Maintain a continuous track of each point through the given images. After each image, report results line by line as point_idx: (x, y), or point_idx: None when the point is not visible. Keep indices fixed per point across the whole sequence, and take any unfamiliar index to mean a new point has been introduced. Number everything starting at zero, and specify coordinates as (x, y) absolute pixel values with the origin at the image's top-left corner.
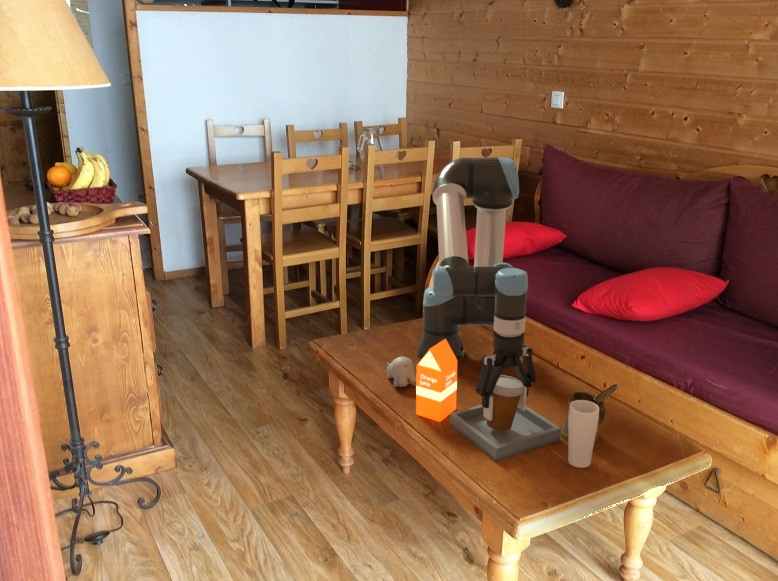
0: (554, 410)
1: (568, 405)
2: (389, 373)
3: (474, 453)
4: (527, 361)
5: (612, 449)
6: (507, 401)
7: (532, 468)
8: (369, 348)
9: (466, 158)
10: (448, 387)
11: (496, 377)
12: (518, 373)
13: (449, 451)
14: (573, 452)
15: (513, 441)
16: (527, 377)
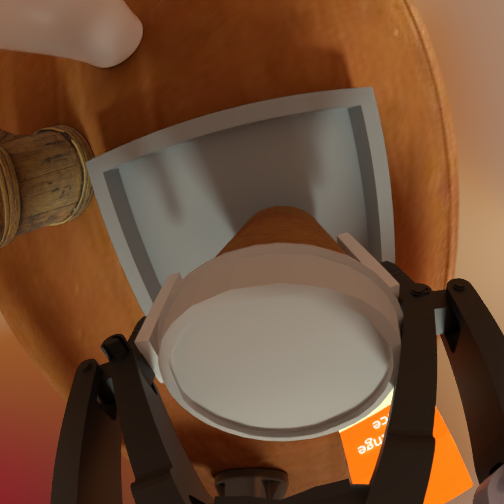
0: (83, 311)
1: (16, 203)
2: None
3: (390, 158)
4: (87, 488)
5: (24, 107)
6: (309, 239)
7: (259, 31)
8: (337, 481)
9: None
10: (383, 407)
11: (424, 392)
12: (168, 431)
13: (436, 192)
14: (126, 4)
15: (293, 106)
16: (114, 389)
